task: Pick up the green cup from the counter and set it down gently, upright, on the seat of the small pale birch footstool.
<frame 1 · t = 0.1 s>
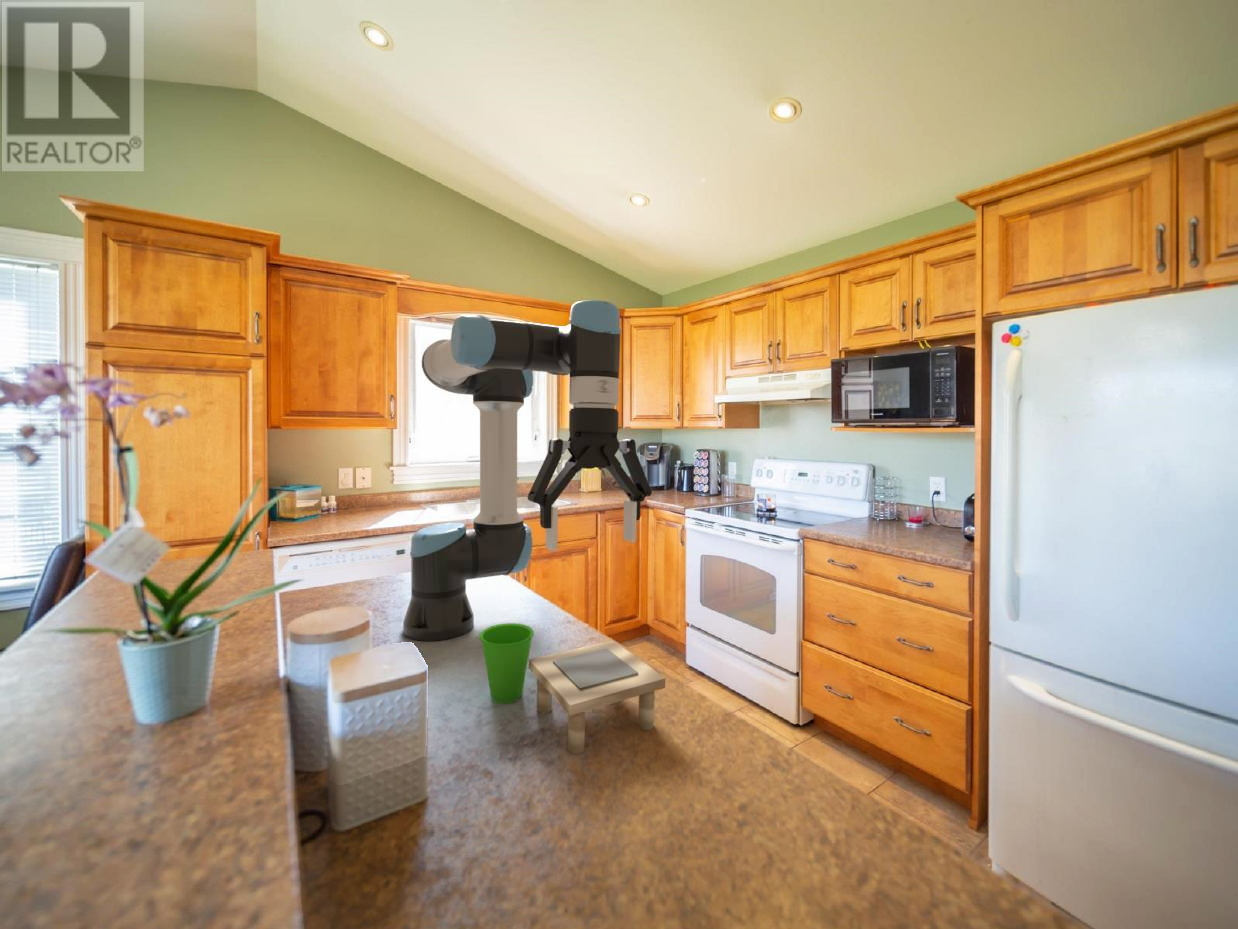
hand: (592, 545, 80), 28 cm above the countertop, fingers open, 13 cm apart
cup: (506, 696, 88), on the countertop
stool: (593, 717, 82), on the countertop
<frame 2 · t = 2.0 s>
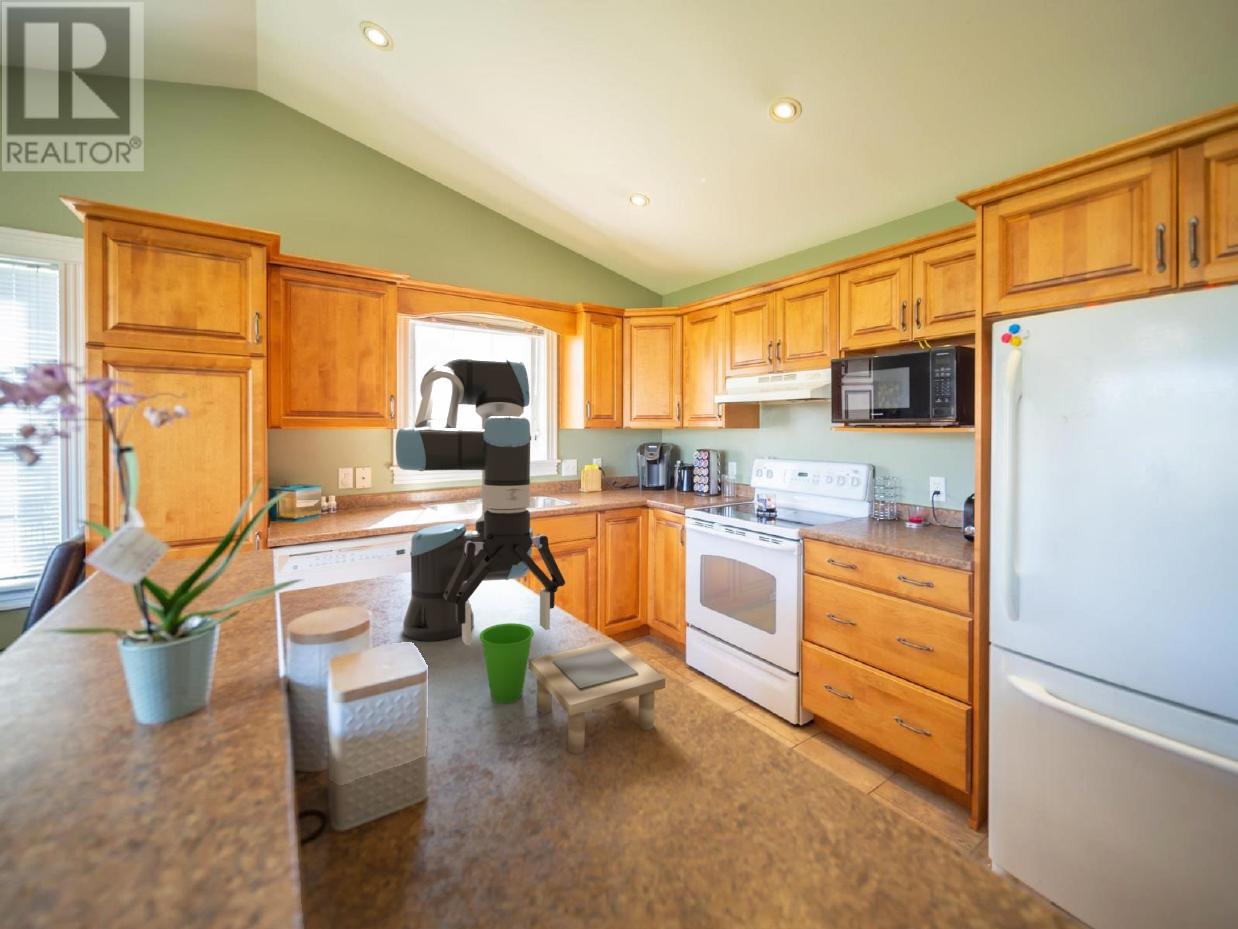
hand: (507, 634, 87), 11 cm above the countertop, fingers open, 13 cm apart
nothing on the countertop moved.
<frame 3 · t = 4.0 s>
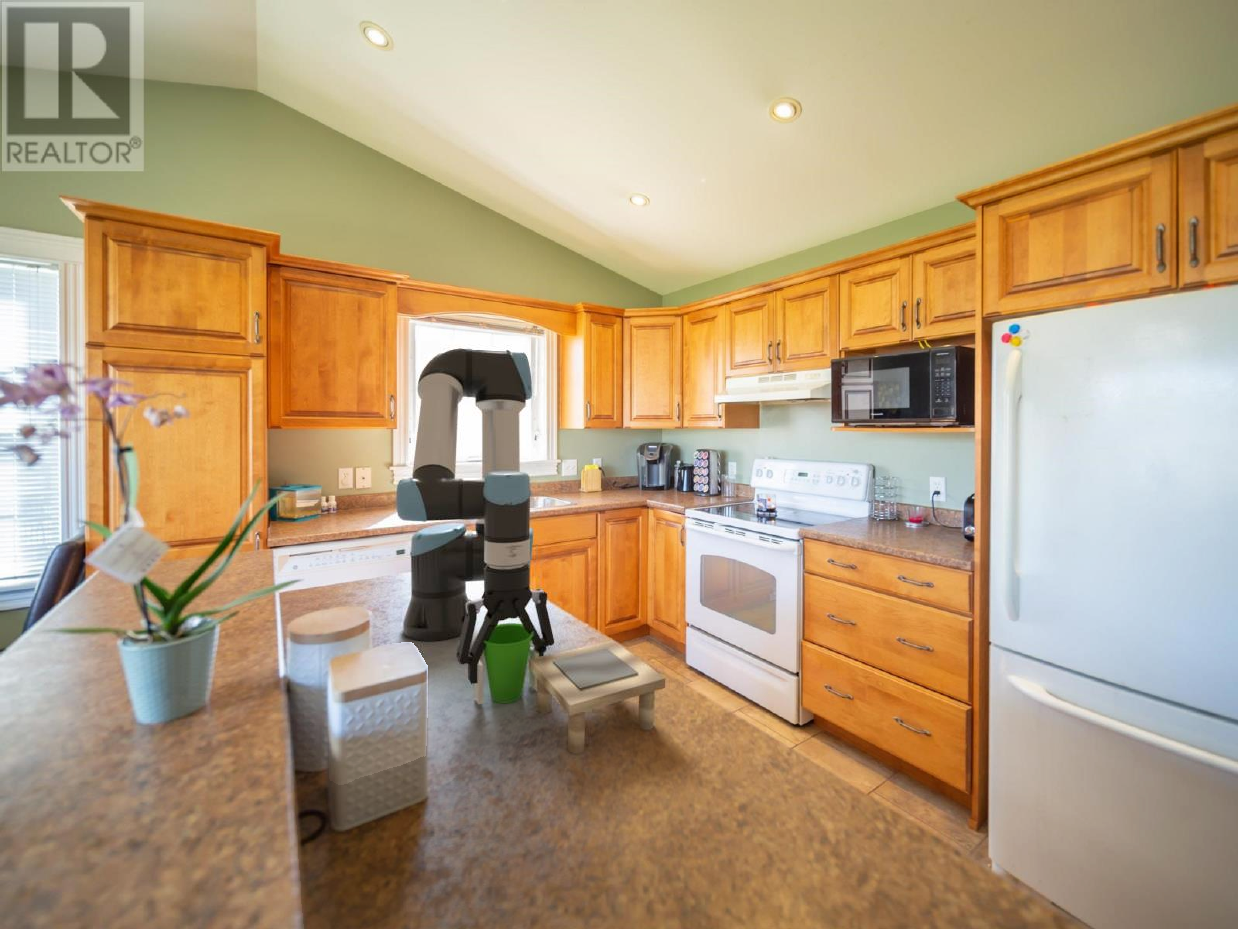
hand: (506, 692, 88), 0 cm above the countertop, fingers closed on cup, 9 cm apart
cup: (506, 696, 88), on the countertop, touching gripper
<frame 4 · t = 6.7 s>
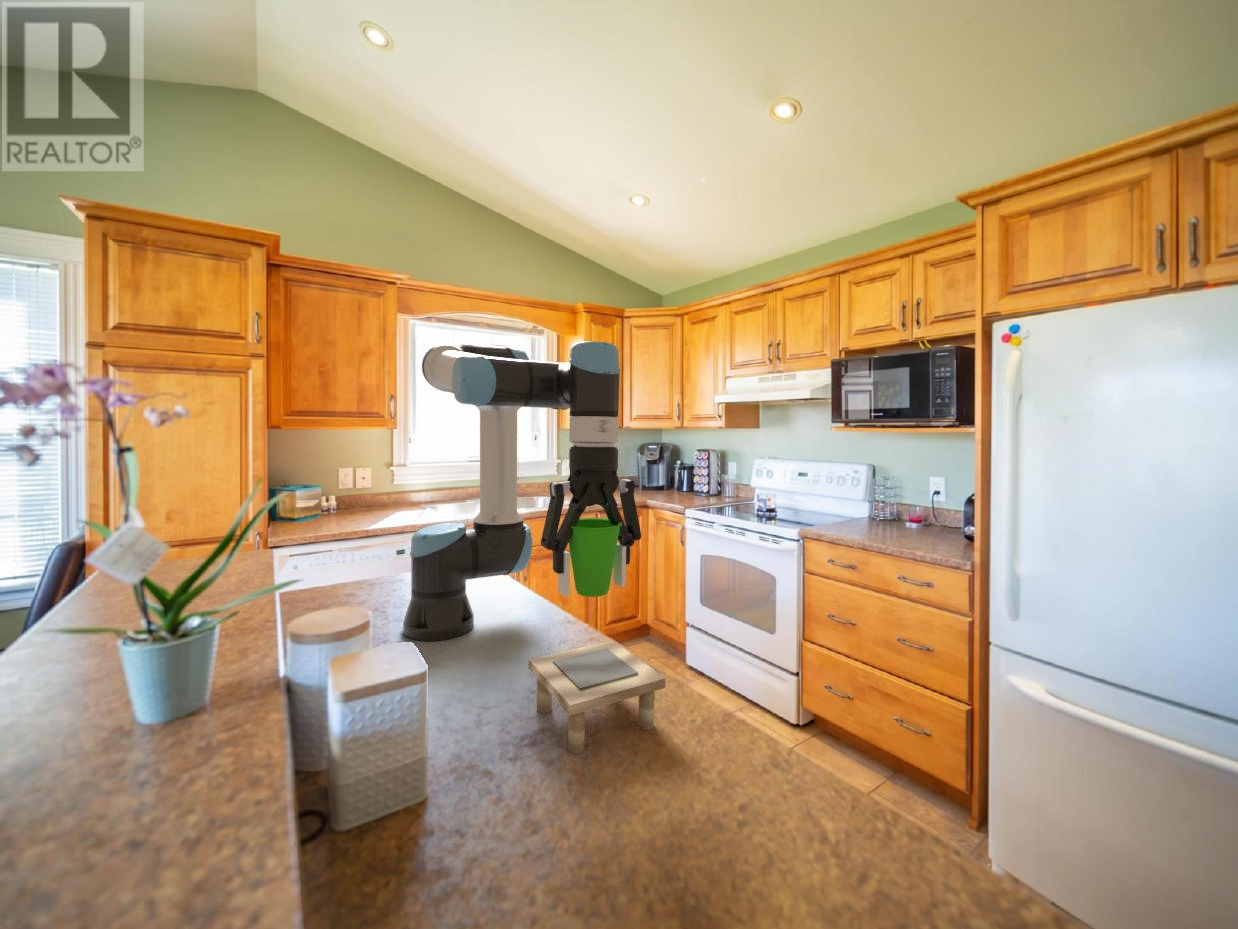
hand: (592, 588, 80), 21 cm above the countertop, fingers closed on cup, 9 cm apart
cup: (592, 593, 80), point 20 cm above the countertop, touching gripper
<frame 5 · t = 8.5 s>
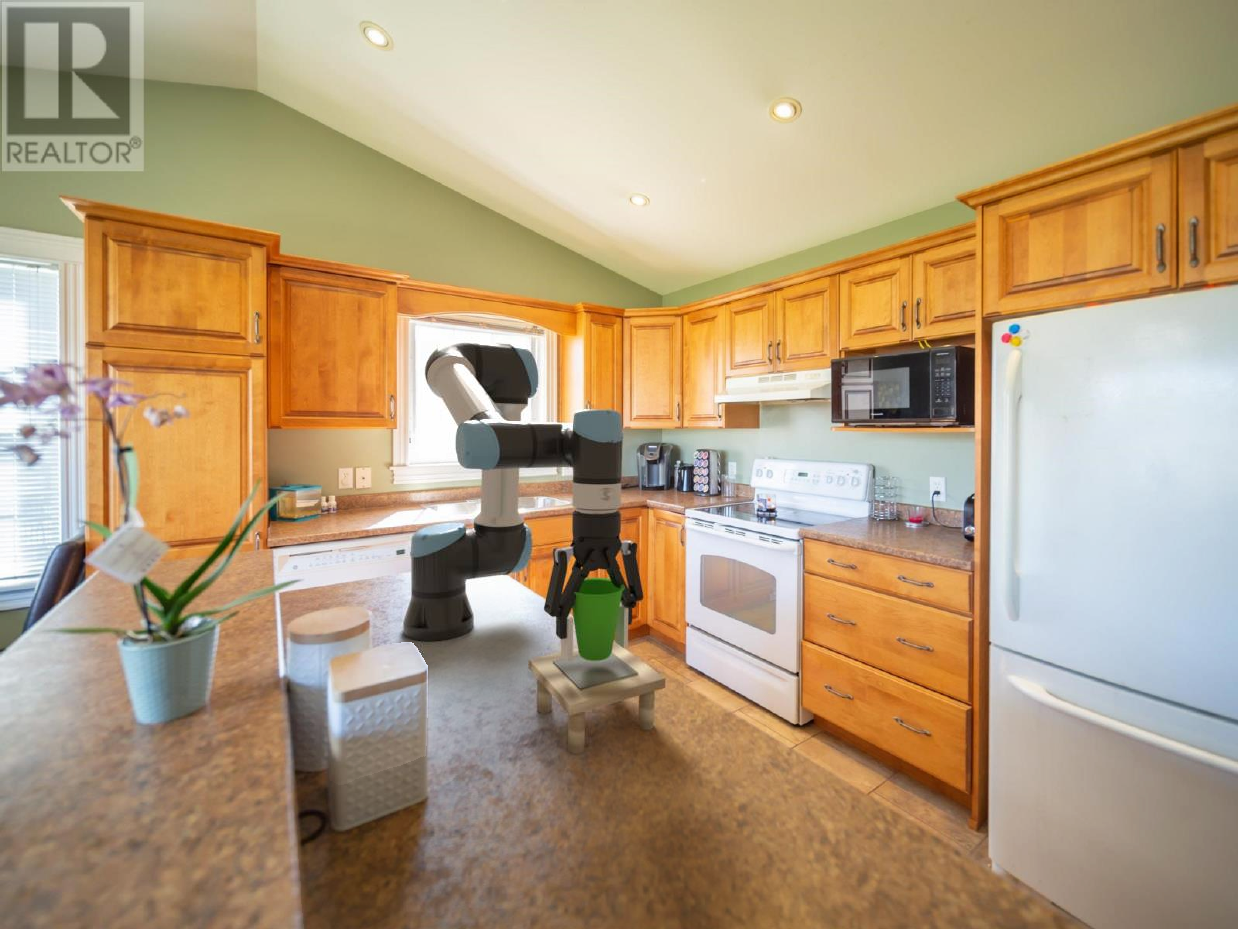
hand: (594, 651, 81), 11 cm above the countertop, fingers closed on cup, 9 cm apart
cup: (595, 655, 81), point 10 cm above the countertop, touching gripper
when the fingers open (10 cm above the countertop, at t = 9.6 s): cup drops 1 cm, resting on stool.
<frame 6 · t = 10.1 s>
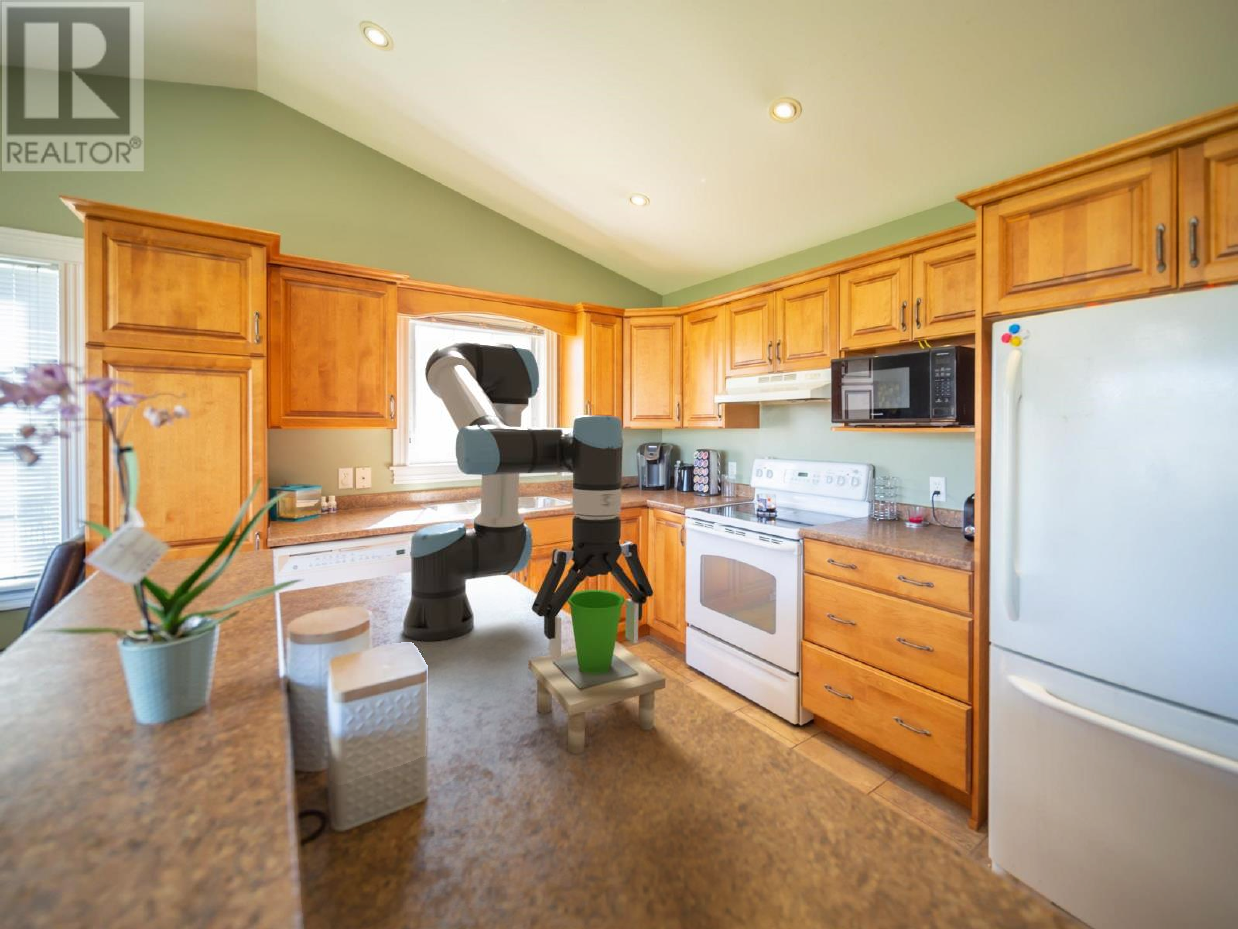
hand: (594, 648, 81), 11 cm above the countertop, fingers open, 13 cm apart
cup: (594, 667, 81), point 8 cm above the countertop, touching stool
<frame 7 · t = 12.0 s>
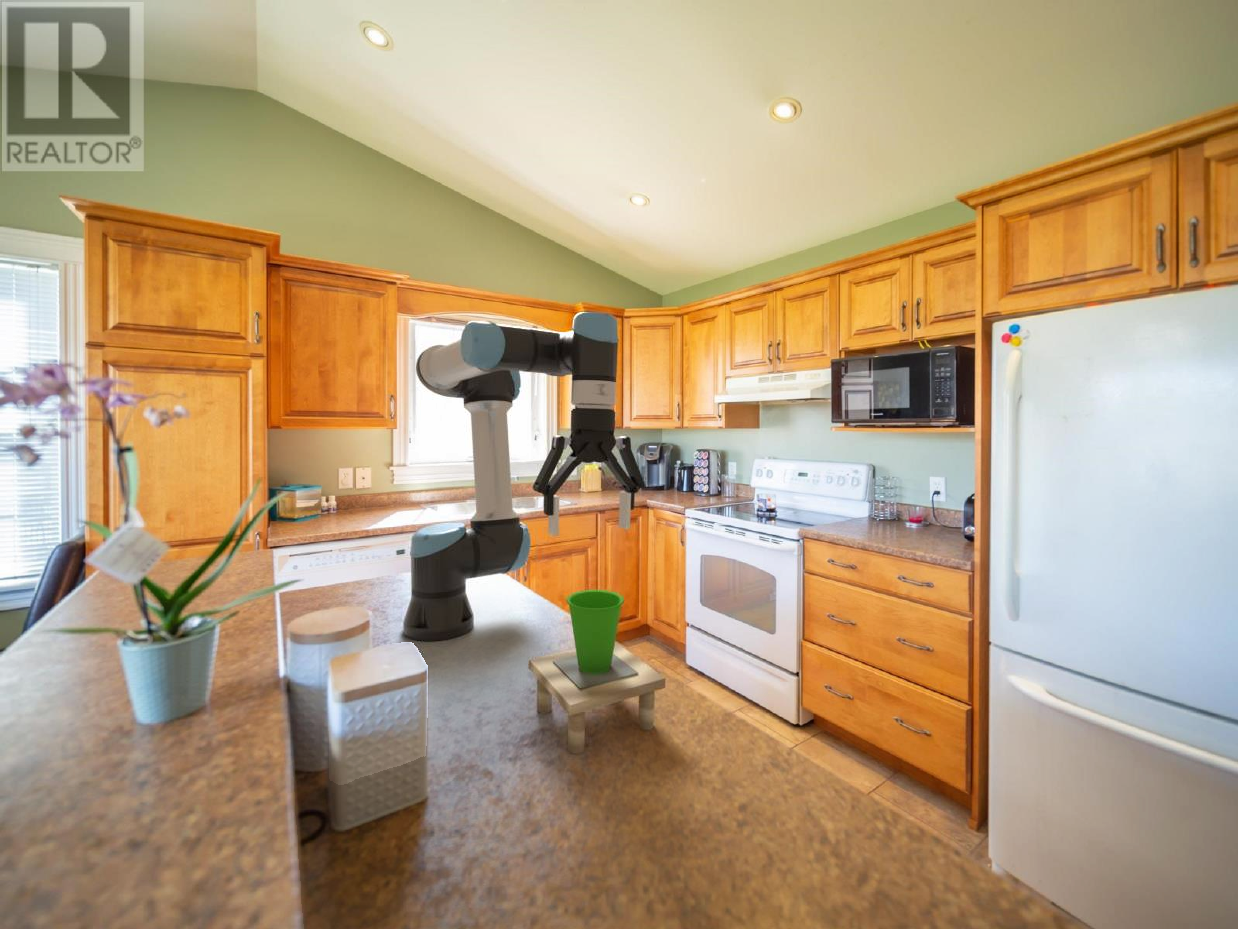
hand: (590, 531, 89), 28 cm above the countertop, fingers open, 13 cm apart
nothing on the countertop moved.
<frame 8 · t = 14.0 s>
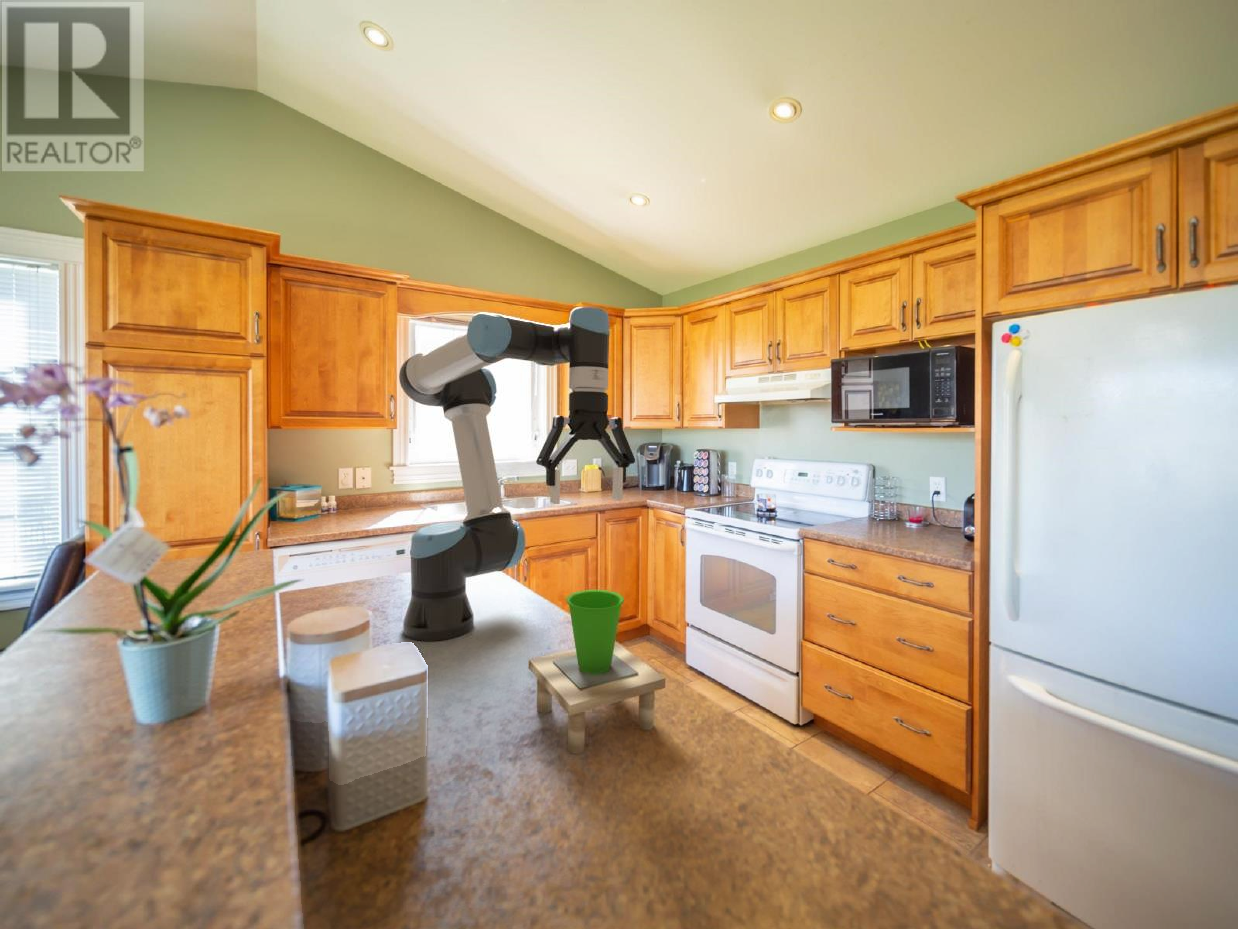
hand: (587, 501, 100), 32 cm above the countertop, fingers open, 13 cm apart
nothing on the countertop moved.
at the end: cup inside the target area on the stool (0.0 cm from its centre), point 8.1 cm above the stool's base; cup tilted 0°; cup touching stool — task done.
